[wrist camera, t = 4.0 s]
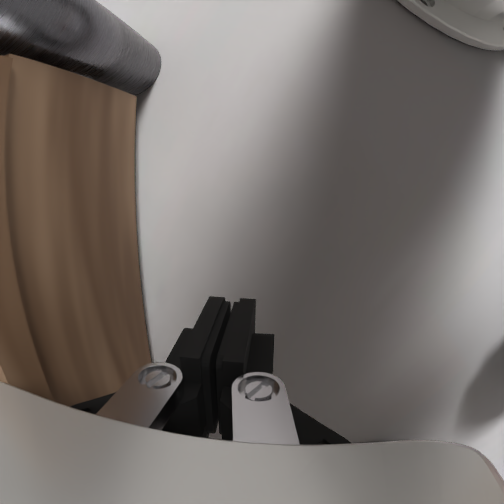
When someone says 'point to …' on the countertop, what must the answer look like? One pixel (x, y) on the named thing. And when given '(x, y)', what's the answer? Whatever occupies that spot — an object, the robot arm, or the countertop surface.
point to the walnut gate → (67, 234)
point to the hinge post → (79, 41)
